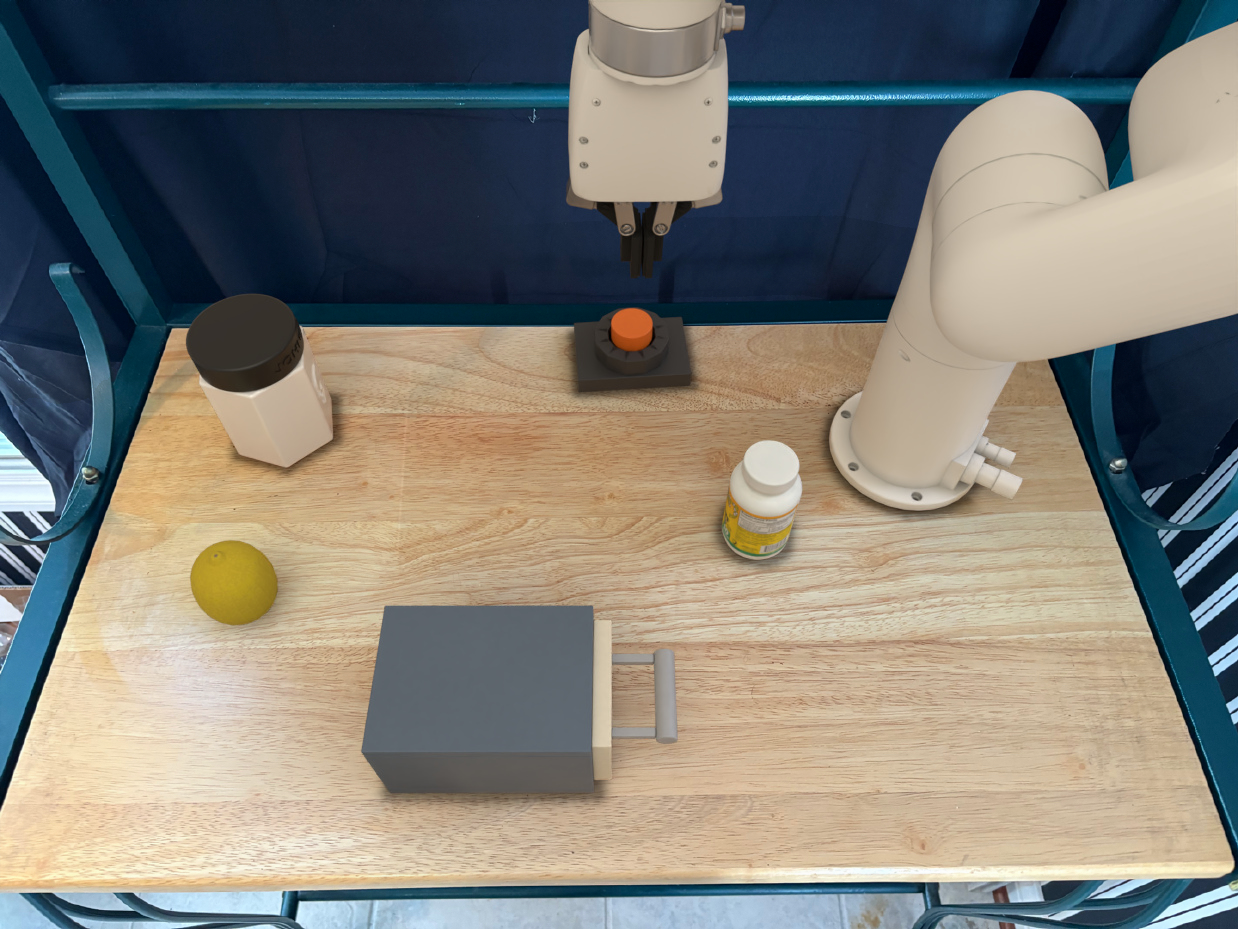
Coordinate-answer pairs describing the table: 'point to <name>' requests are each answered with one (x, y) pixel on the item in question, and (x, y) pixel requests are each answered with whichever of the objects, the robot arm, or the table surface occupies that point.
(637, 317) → the button
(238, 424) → the jar
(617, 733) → the drawer
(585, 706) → the cabinet
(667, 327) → the control block
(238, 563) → the lemon
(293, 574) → the table surface
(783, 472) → the supplement bottle
